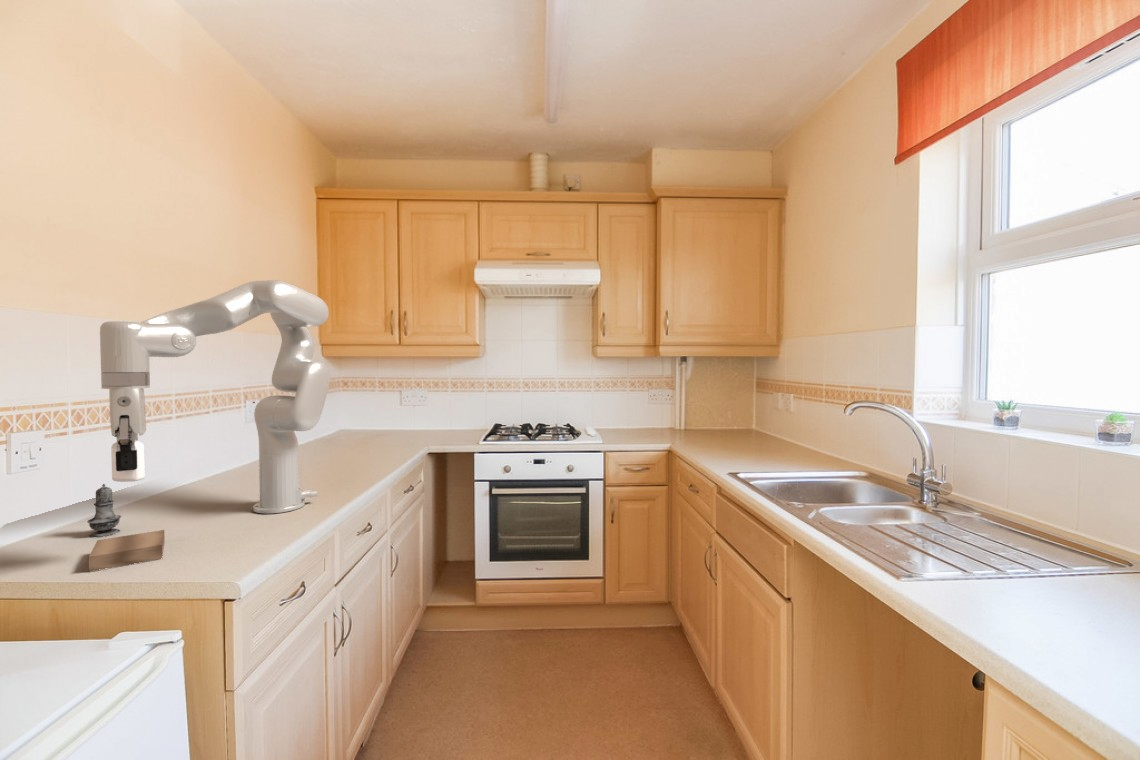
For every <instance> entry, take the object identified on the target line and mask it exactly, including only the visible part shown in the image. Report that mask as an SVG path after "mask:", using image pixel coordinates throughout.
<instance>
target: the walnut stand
mask: <svg viewBox="0 0 1140 760" xmlns="http://www.w3.org/2000/svg"><path fill="white" fill-rule="evenodd" d="M165 544H166V543H165V529H160V530H155V531H148V532H141V533H135V534H129V535H128V534H126V535H122V536H116V537H115V536H114V537H109V538H103V539H97V540H96V541H95V544H94V545H93V547H92V550H91V552H90V554H89V556H88V572H89V573H91V572H90V571H93V570H98V571H100V570H99V569H104V570H106V569H105V568H109V569H113V568H112V567H115V568H119V567H118V566H120V567H124V566H123V565H126V566H130V565H129V564H131V565H135V564H134V563H137V564H140V563H139V562H142V563H146V562H145V561H148V562H151V561H150V560H153V561H157V560H156V559H159V560H162V559H163V557H162V556H164V551H165V550H164V549H165ZM161 558H162V559H161ZM93 572H94V571H93Z"/></svg>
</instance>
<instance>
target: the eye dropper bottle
mask: <svg viewBox="0 0 1140 760" xmlns="http://www.w3.org/2000/svg"><path fill="white" fill-rule="evenodd" d="M128 435H132V433H129V434H128ZM130 440H131V439H130ZM135 450H137V469H136V470H127V471H116V452H117V441H116V442H114V443H112V445H111V479H112V481H114V482H121V483H124V482H125V483H126V482H127V483H128V482H129V483H132V482H138V481H142V480H145V478H146V471H145V470H146V466H145V465H146V463H145V460H146V459H145V445H144V443H143V442H141V441H139V440H138V441H137V440H135Z"/></svg>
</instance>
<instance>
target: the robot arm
mask: <svg viewBox="0 0 1140 760" xmlns="http://www.w3.org/2000/svg"><path fill="white" fill-rule="evenodd" d="M329 312H330V311H329V307H328V305H327V303H326V302H325V301H324V299H322V298H321V297H319V296H317V295H315V294H313V293H311V292H308V291H306V290H305V289H302V288H300V287H299V286H296V285H294V284H291V283H289V282H286V281H283V280H279V279H278V280H277V279H273V280H272V279H270V280H252V281H249V282H246V283H243V284H241V285H239V286H237V287H233V288H232V289H230V290H227V291H224V292H223V293H220V294H217V295H215V296H212V297H210V298H207V299H204V300H200V301H197V302H194V303H192V304H189V305H185V306H182V307H179V308H175V309H172V310H169V311H165V312H163V313H160V314H158V315H155V316H152V317H150V318H147V319H145V320H142V321H141V322H136V321H123V320H122V321H120V320H117V321H116V320H114V321H113V320H111V321H109V320H108V321H104V322H103V323H102V324H100V326H99V345H100V346H99V347H100V349H99V350H100V351H99V352H100V372H101V373H100V376H101V377H100V379H101V381H100V382H101V383H100V384H101V389H103V390H108V391H109V397H108V398H109V402H108V403H109V417H110V418H109V421H110V432H111V436H112V437H114V438H116V442H117V452H116V471H127V470H136V469H137V450H135V440H137V441H139V437H141V436H143V435H145V433H146V431H147V422H146V421H147V419H146V417H147V415H146V398H145V390H144V389H148V388H151V386H150V385H151V378H150V375H151V372H150V370H151V369H150V358H179V357H183V356H186V355H188V354H190V353H191V352H192V351H193V350H194V349H195V347H196V345H197V338H196V337H201V336H206V335H207V336H208V335H214V334H220V333H224V332H228V331H231V330H234V329H235V328H237V327H239V326H241V325H244V324H245V323H247V322H249V321H251V320H253V319H256V318H257V317H259V316H261V315H264V314H268V313H269V315H270V317H271V318H272V321H273V322H274V324H275V325H276V328H277V329H278V331H279V333H280V336H281V343H280V347H279V348H280V349H279V352H278V354H277V358H276V361H275V364H274V368H273V371H272V374H271V384H272V386H273V388H275V389H276V390H277V391H279V392H284V393H295V396H292V395H270V396H269V395H268V396H266V397H264V398H262V399H261V400H259V402H258V403H257V404H256V406H255V408H254V412H253V413H254V414H253V415H254V416H253V417H254V423H255V426H256V431H257V435H258V460H259V461H258V464H259V465H258V467H259V469H258V471H259V472H258V473H259V474H258V475H259V476H258V477H259V478H258V479H259V480H258V481H259V482H258V483H259V485H258V486H259V502H257V503H255V504H254V505H253V506H252V511H253V512H255V513H258V514H269V515H270V514H280V513H286V512H287V513H288V512H291V511H294V510H298V509H300V508H302V507H303V506H304V505H305V504H306V500H305V499H307V498H314V497H318V490H317V489H314V490H312V489H306V490H302V489H300V487H299V486H300V485H299V484H300V483H299V482H300V481H299V478H300V477H299V442H298V437H297V435H296V432H306V431H310V430H312V429H314V428H315V427H316V426H317V424H318V423H319V421H320V419H321V417H322V413H323V409H324V405H325V402H326V399H327V395H328V392H329V388H330V384H331V383H330V382H331V375H330V371H329V369H328V366H327V365H326V364H325V363H324V362H321V361H320V360H316V359H313V356H314V352H315V341H314V337H313V336H312V334H311V332H310V331H309V329H308V328H309V327H311V328H312V327H313V328H314V327H315V328H316V327H319V326H321V325H324V324H326V321H328V319H329V317H330V316H329V314H330V313H329ZM129 433H132V435H128V434H129ZM130 439H131V440H130Z"/></svg>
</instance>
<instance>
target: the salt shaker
mask: <svg viewBox="0 0 1140 760" xmlns="http://www.w3.org/2000/svg"><path fill="white" fill-rule="evenodd" d="M114 503H115V500H113V490H112V488H111V487H108V486H106V484H105V483H103V484H101V487H100V488H98V489H96V491H95V503H93V506H95V513H94V517H92V518H90V519H88V520H87V524H88V526H89V527H90V529H91V530H94V532H92V533H90V534H89V538H92V537H97V538H104V537H103V536H105V537H109V535H110V536H113V534H114V535H116V533H117V534H119V533H120V532H121V530H120V529H118V528H115V527H117V526H118V525H119V523H120V521H121V518H122V515H120V514H116V513H115V512H114ZM118 532H119V533H118Z"/></svg>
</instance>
